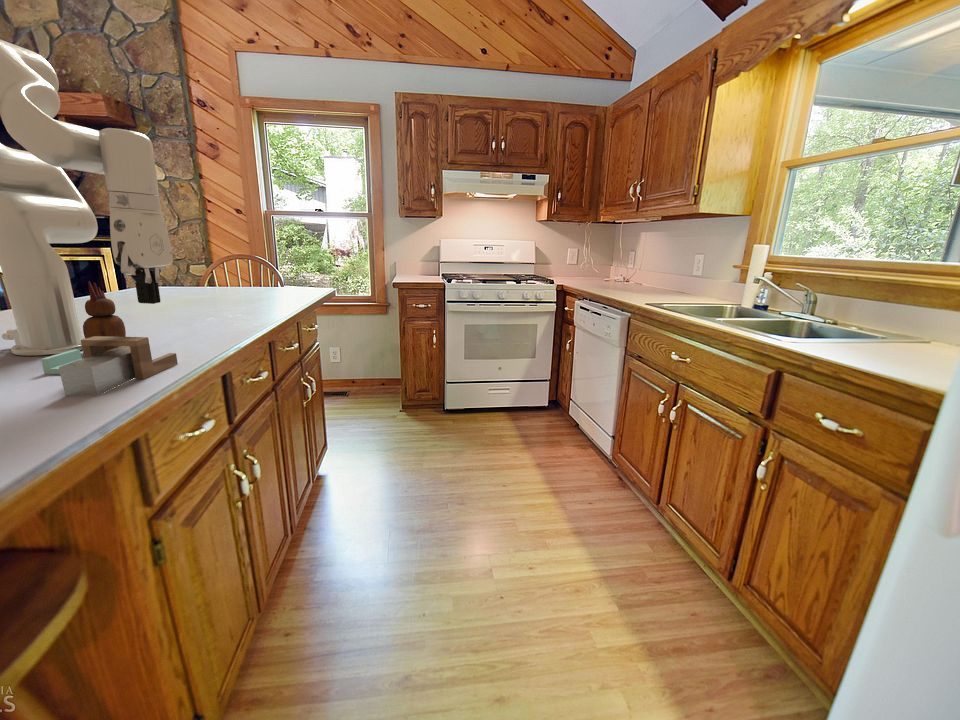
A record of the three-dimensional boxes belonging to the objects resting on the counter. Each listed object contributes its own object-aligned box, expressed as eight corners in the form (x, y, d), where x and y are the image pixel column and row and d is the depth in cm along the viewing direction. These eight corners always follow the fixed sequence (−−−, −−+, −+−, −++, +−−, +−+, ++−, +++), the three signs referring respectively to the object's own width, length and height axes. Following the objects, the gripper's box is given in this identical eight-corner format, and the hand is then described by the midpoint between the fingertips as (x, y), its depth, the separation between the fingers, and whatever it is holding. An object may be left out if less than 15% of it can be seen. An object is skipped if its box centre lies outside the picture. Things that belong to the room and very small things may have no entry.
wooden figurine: (103, 354, 89) (88, 282, 85) (81, 352, 90) (65, 281, 86) (135, 347, 96) (122, 280, 92) (113, 345, 97) (100, 278, 93)
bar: (65, 397, 67) (58, 367, 65) (127, 371, 80) (122, 345, 79) (97, 397, 67) (91, 367, 66) (153, 371, 81) (149, 345, 79)
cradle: (44, 373, 76) (40, 358, 75) (77, 363, 83) (74, 349, 82) (96, 374, 77) (92, 359, 76) (124, 363, 84) (121, 350, 83)
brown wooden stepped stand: (88, 378, 75) (80, 339, 73) (129, 363, 84) (123, 328, 82) (143, 379, 75) (136, 340, 73) (177, 363, 85) (172, 329, 83)
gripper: (127, 202, 72) (143, 310, 77) (181, 208, 86) (191, 298, 91) (80, 199, 72) (99, 307, 76) (142, 205, 86) (154, 296, 91)
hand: (149, 302), depth 84 cm, fingers closed
